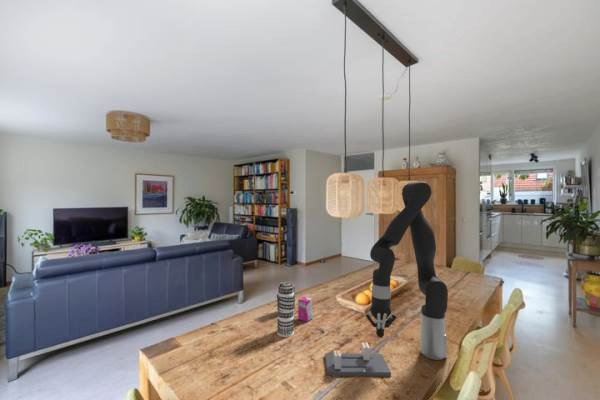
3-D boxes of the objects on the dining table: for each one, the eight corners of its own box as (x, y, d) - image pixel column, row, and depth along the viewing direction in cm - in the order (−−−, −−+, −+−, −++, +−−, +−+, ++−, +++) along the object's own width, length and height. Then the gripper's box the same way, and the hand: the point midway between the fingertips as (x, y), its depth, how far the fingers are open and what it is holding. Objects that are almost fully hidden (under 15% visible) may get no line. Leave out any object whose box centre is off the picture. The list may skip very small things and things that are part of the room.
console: (381, 357, 113) (381, 353, 113) (391, 376, 101) (391, 372, 101) (325, 356, 113) (325, 353, 113) (327, 375, 101) (327, 371, 101)
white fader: (367, 354, 112) (367, 342, 112) (369, 360, 108) (369, 347, 108) (361, 354, 112) (361, 342, 112) (363, 360, 108) (363, 347, 108)
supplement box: (304, 316, 153) (304, 296, 153) (312, 319, 149) (312, 298, 149) (297, 319, 148) (297, 299, 148) (306, 322, 144) (306, 301, 144)
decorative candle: (273, 335, 131) (273, 284, 131) (281, 327, 139) (281, 279, 139) (290, 339, 128) (291, 286, 128) (297, 330, 136) (297, 281, 136)
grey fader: (339, 362, 106) (339, 349, 106) (341, 369, 102) (341, 355, 102) (333, 362, 106) (333, 349, 106) (334, 369, 102) (334, 355, 102)
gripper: (394, 292, 114) (392, 332, 114) (363, 291, 114) (361, 331, 114) (400, 298, 106) (399, 342, 107) (367, 297, 107) (365, 341, 107)
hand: (379, 336), depth 110 cm, fingers closed
